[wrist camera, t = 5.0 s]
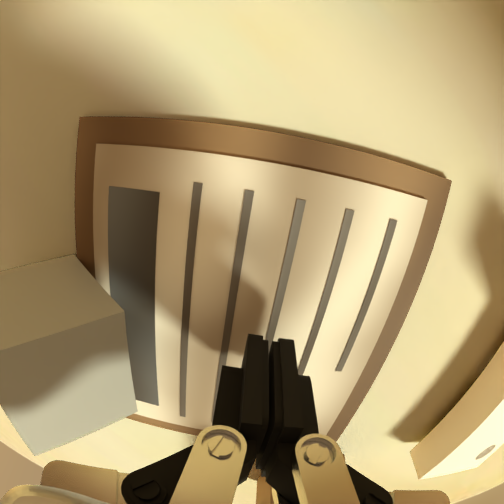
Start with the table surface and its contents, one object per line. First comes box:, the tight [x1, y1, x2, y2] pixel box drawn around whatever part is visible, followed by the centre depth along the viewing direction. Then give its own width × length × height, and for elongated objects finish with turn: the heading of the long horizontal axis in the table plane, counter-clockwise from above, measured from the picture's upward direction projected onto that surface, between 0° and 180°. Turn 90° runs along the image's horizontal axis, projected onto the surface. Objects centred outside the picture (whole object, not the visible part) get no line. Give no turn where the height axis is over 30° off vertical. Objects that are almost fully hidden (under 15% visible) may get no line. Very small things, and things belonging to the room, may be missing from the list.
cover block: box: [0, 254, 138, 456], centre depth 9 cm, size 5×5×5 cm
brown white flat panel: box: [75, 117, 452, 442], centre depth 12 cm, size 14×16×1 cm
